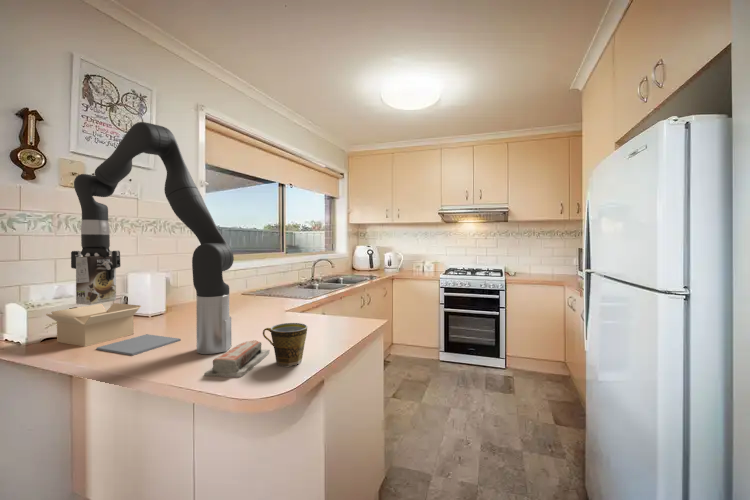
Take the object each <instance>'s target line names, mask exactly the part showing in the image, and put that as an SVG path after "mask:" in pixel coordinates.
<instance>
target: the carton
mask: <svg viewBox="0 0 750 500" xmlns="http://www.w3.org/2000/svg"><path fill="white" fill-rule="evenodd" d="M141 307H142V305H140V304H139V305H138V304H137V305H136V304H127V303H118V302H117V303H116V302H115V303H112V304H111V306H110V307H108V309H107V308H105V306H104V305H103V303H98V304H92V305H85V306H79V307H73V308H66V309H61V310H60V309H59V310H55V311H54V310H53V311H51V313H46V314H45V315H46V316H47V317H49V318H50V319H52V320H54V321H55V322H56V338H57V339H56V343H61V344H68V345H73V346H81V347H89V346H92V345H97V344H100V343H105V342H108V341H113V340H116V339H120V338H123V337H127V336H132V335H134V334H135V333H134V325H135V324H134V323H135V322H134V316H135V314H136V313H137V312H138V311H139V310H140V308H141Z"/></svg>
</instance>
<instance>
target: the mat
mask: <svg viewBox="0 0 750 500" xmlns="http://www.w3.org/2000/svg"><path fill="white" fill-rule="evenodd" d="M180 341H181V338H178V337H172V336H171V337H170V336H164V335H157V334H156V335H155V334H148V333H147V334H146V333H145V334H142V335H138V336H135V337H130V338H127V339H124V340H123V339H122V340H120V341H117V342H113V343H110V344H105V345H101V346H98V347H97V346H96V350H98V351H103V352H109V353H115V354H121V355H127V356H135V355H139V354H142V353H145V352H149V351H152V350H155V349H157V348H162V347H165V346H167V345H171V344H173V343H174V344H175V343H177V342H180Z"/></svg>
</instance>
